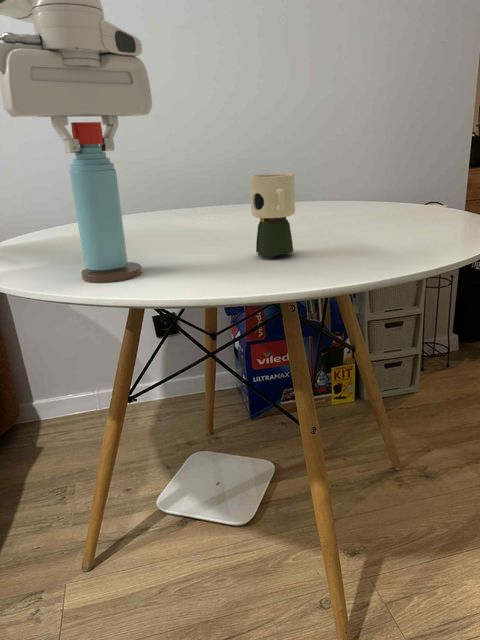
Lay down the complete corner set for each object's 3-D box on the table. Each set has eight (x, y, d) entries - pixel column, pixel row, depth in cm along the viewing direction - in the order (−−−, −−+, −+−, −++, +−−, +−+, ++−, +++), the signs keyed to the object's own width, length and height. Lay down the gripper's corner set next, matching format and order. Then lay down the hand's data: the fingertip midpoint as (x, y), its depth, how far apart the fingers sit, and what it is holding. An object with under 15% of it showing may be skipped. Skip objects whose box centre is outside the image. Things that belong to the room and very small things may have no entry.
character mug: (247, 251, 89) (242, 174, 84) (285, 247, 91) (283, 171, 86) (263, 265, 79) (258, 178, 74) (305, 260, 81) (304, 175, 76)
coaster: (72, 276, 78) (70, 270, 78) (123, 265, 84) (122, 259, 83) (99, 286, 72) (98, 279, 72) (153, 273, 78) (152, 266, 77)
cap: (108, 143, 70) (105, 122, 69) (82, 144, 68) (78, 122, 67) (95, 142, 73) (92, 122, 72) (69, 143, 71) (65, 122, 69)
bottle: (77, 265, 78) (54, 128, 70) (114, 257, 82) (96, 127, 74) (97, 272, 74) (75, 128, 66) (135, 264, 78) (119, 127, 70)
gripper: (-3, 26, 57) (24, 156, 62) (151, 41, 70) (163, 148, 75) (-21, 35, 61) (6, 156, 66) (128, 48, 74) (140, 148, 79)
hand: (90, 152), depth 71 cm, fingers closed on cap, 4 cm apart
